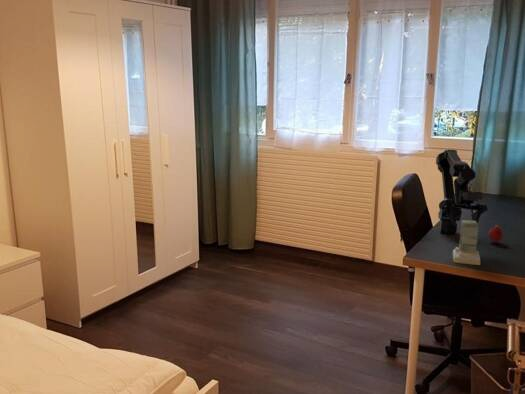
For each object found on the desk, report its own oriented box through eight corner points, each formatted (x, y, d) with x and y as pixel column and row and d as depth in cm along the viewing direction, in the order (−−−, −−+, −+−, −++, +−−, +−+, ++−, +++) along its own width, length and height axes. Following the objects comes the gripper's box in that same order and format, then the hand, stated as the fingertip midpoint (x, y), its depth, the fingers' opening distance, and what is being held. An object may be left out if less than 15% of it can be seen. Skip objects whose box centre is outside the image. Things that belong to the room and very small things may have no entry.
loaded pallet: (455, 250, 195) (458, 219, 192) (473, 251, 194) (477, 220, 191) (459, 256, 188) (462, 224, 185) (478, 257, 187) (482, 225, 184)
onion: (498, 240, 213) (500, 223, 211) (505, 245, 208) (507, 227, 206) (485, 240, 213) (487, 223, 211) (491, 245, 207) (493, 227, 205)
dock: (453, 262, 188) (454, 257, 187) (452, 253, 197) (453, 248, 197) (480, 265, 185) (480, 260, 184) (477, 256, 194) (478, 251, 194)
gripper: (451, 179, 195) (454, 216, 189) (494, 186, 197) (498, 222, 191) (437, 190, 205) (439, 225, 199) (478, 196, 208) (481, 231, 201)
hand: (465, 226), depth 197 cm, fingers open, 9 cm apart
